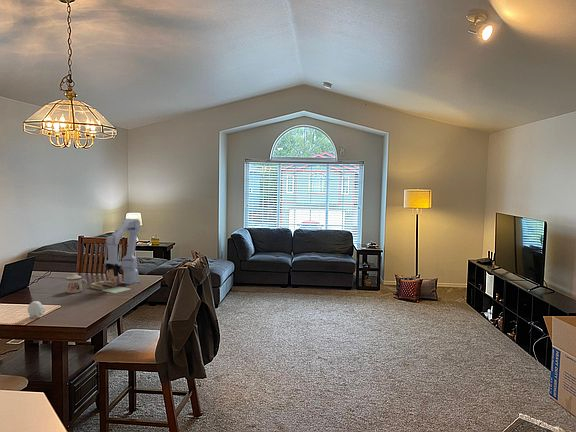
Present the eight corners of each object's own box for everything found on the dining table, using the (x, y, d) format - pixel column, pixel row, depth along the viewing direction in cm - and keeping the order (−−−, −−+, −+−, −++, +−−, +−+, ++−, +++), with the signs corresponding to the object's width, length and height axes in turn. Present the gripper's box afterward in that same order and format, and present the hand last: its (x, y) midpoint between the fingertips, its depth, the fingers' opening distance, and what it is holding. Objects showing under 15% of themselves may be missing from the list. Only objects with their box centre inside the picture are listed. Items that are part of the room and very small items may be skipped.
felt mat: (119, 286, 303) (119, 286, 303) (132, 289, 296) (132, 288, 296) (101, 290, 292) (101, 290, 292) (114, 293, 286) (114, 293, 286)
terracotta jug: (114, 277, 299) (113, 268, 299) (119, 278, 297) (118, 269, 296) (105, 279, 294) (104, 270, 293) (110, 280, 291) (109, 270, 291)
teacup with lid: (65, 293, 285) (64, 275, 284) (67, 290, 293) (66, 272, 292) (86, 292, 288) (85, 274, 287) (87, 289, 297) (87, 271, 296)
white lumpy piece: (26, 302, 232) (36, 298, 244) (26, 319, 232) (36, 314, 244) (39, 302, 233) (48, 298, 245) (39, 318, 233) (48, 314, 245)
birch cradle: (105, 284, 311) (105, 280, 310) (116, 286, 304) (116, 282, 304) (89, 287, 301) (89, 283, 300) (100, 290, 294) (100, 286, 294)
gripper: (100, 254, 295) (100, 275, 296) (114, 256, 287) (115, 277, 289) (109, 253, 301) (110, 273, 302) (124, 255, 293) (124, 276, 294)
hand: (113, 275), depth 296 cm, fingers closed on terracotta jug, 5 cm apart
